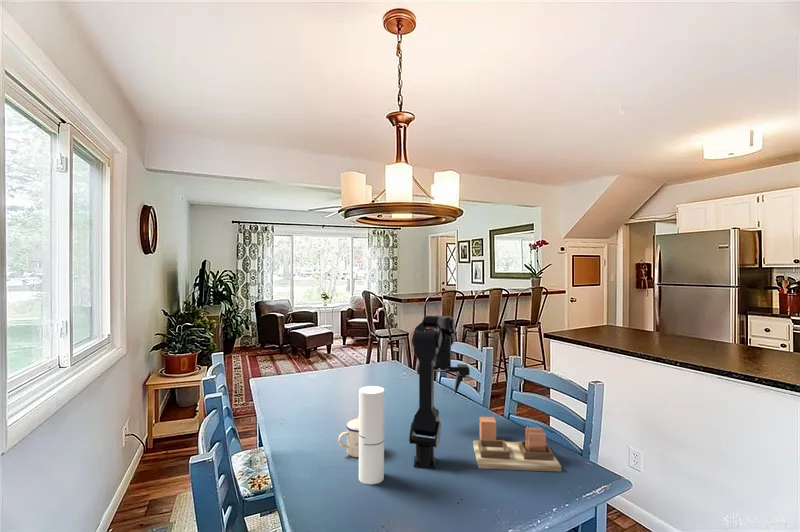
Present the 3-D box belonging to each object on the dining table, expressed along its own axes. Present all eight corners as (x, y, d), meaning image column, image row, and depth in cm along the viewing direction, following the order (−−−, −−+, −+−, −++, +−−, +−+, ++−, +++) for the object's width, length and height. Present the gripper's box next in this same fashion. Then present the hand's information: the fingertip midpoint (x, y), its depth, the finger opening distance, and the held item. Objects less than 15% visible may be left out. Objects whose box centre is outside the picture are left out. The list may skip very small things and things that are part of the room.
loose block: (496, 442, 141) (496, 422, 141) (481, 442, 142) (481, 421, 142) (493, 436, 146) (493, 416, 146) (479, 436, 147) (479, 416, 147)
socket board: (561, 471, 122) (561, 442, 122) (478, 468, 124) (478, 439, 123) (546, 447, 138) (546, 422, 138) (473, 444, 139) (473, 419, 139)
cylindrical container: (370, 468, 123) (371, 384, 123) (389, 476, 118) (389, 389, 118) (353, 478, 117) (353, 390, 117) (371, 487, 113) (372, 395, 113)
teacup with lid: (368, 443, 140) (368, 409, 140) (379, 454, 132) (379, 418, 132) (333, 450, 135) (334, 415, 135) (343, 462, 126) (343, 424, 126)
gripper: (466, 346, 159) (465, 387, 159) (417, 345, 160) (417, 386, 160) (469, 352, 148) (469, 396, 148) (417, 351, 149) (417, 394, 149)
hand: (442, 392), depth 152 cm, fingers open, 9 cm apart
